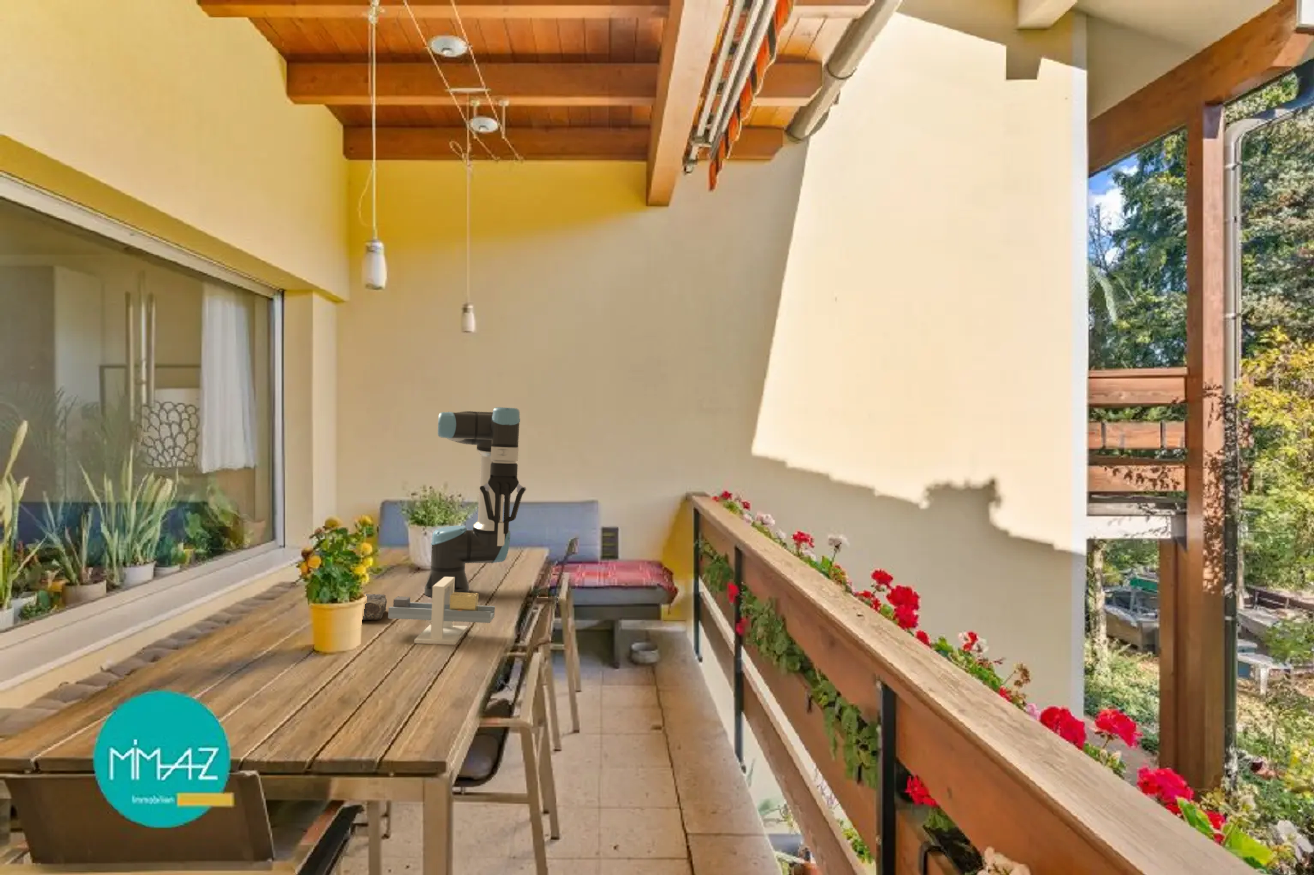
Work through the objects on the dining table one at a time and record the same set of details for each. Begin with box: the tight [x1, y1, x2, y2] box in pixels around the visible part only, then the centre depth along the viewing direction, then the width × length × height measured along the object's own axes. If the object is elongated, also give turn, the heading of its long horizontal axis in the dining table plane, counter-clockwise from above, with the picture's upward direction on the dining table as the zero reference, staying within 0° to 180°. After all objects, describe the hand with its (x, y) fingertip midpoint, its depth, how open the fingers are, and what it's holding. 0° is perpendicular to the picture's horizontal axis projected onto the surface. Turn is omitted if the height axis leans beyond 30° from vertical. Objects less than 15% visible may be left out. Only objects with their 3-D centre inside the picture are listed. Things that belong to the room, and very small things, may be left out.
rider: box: [450, 592, 480, 611], centre depth 194 cm, size 4×7×6 cm, turn 92°
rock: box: [363, 593, 388, 621], centre depth 210 cm, size 13×6×15 cm
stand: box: [414, 577, 468, 645], centre depth 194 cm, size 14×11×16 cm
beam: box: [387, 586, 496, 624], centre depth 194 cm, size 8×28×8 cm, turn 92°
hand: (500, 545), depth 194 cm, fingers closed
